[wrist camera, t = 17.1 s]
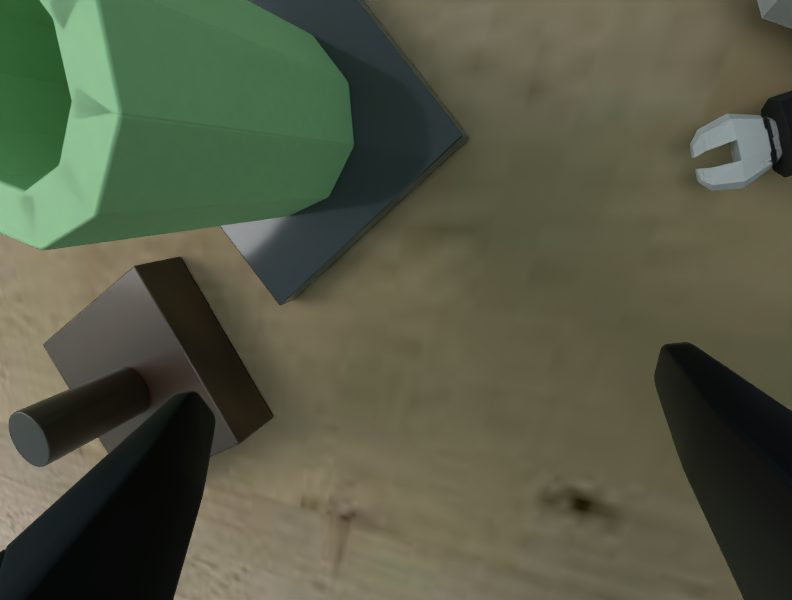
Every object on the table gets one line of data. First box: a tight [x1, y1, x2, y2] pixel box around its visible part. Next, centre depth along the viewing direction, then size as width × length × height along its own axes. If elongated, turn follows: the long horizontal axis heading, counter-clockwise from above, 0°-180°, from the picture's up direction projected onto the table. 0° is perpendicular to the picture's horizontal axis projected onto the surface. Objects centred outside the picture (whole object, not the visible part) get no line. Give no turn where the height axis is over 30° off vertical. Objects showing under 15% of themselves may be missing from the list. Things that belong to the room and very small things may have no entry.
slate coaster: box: [220, 0, 469, 305], centre depth 17 cm, size 10×10×1 cm
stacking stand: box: [9, 257, 272, 467], centre depth 21 cm, size 9×9×7 cm
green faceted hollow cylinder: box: [0, 0, 354, 250], centre depth 13 cm, size 6×7×9 cm
